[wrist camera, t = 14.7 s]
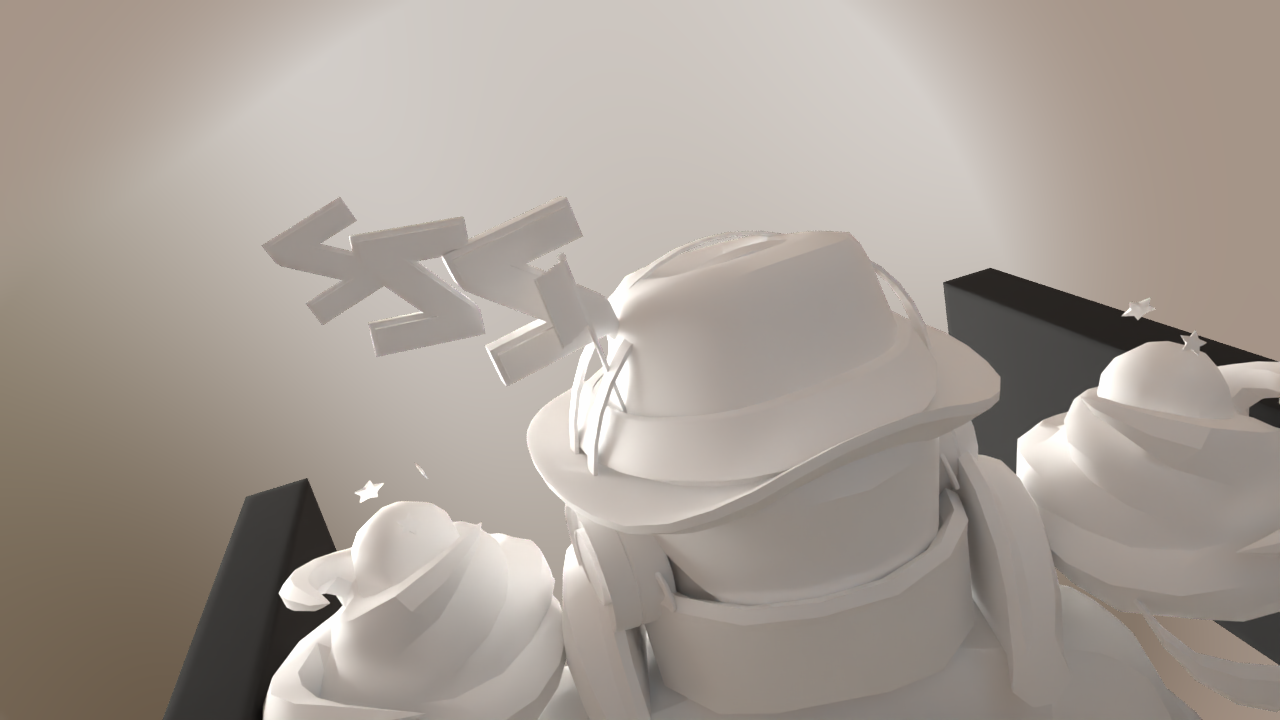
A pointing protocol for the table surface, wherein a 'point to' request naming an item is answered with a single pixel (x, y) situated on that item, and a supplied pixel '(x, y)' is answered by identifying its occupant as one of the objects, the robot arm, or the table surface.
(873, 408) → the hat wearing toy figure
